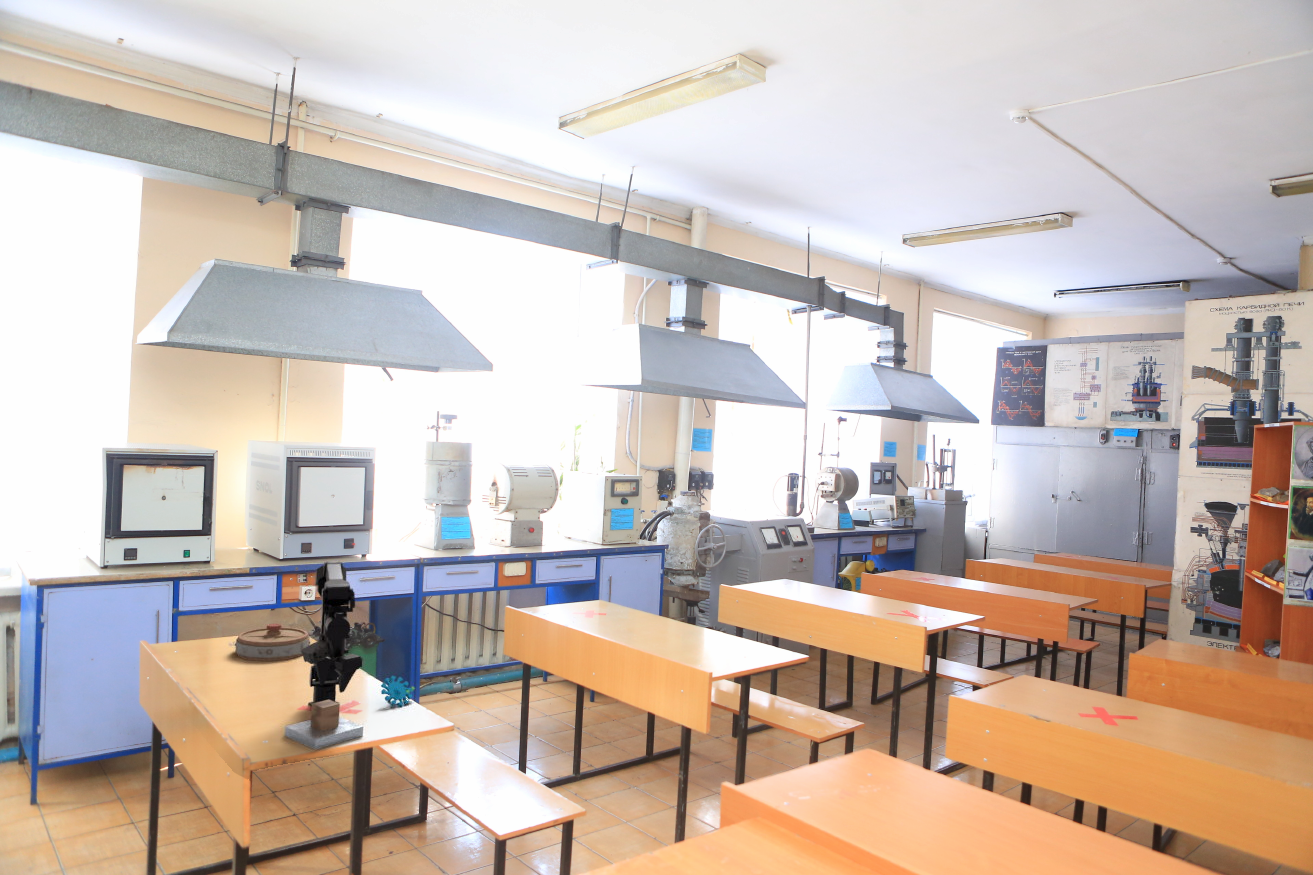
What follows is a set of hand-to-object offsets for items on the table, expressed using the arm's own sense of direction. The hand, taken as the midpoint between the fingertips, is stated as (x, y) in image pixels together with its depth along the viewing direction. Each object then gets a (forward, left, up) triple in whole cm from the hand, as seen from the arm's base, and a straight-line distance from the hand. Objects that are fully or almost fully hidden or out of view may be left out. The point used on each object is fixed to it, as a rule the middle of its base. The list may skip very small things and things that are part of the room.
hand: (331, 688), depth 227 cm
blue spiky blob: (-7, +27, -12) cm, 31 cm away
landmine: (-83, +31, -12) cm, 90 cm away
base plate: (+2, -3, -12) cm, 12 cm away
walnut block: (+2, -3, -9) cm, 10 cm away
